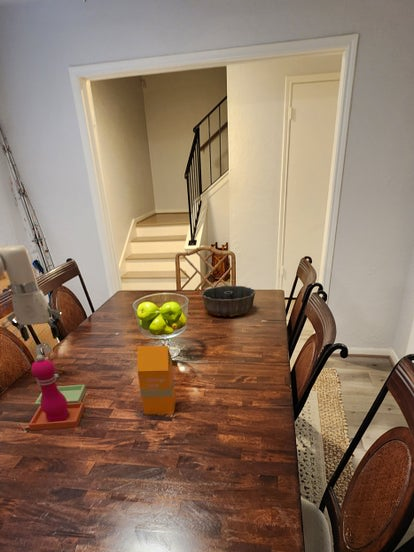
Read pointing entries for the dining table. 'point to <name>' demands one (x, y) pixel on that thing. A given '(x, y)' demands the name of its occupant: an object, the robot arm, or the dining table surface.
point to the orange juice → (156, 379)
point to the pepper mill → (49, 390)
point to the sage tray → (68, 394)
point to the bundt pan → (228, 300)
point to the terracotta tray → (73, 420)
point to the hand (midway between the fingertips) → (41, 338)
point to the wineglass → (45, 352)
